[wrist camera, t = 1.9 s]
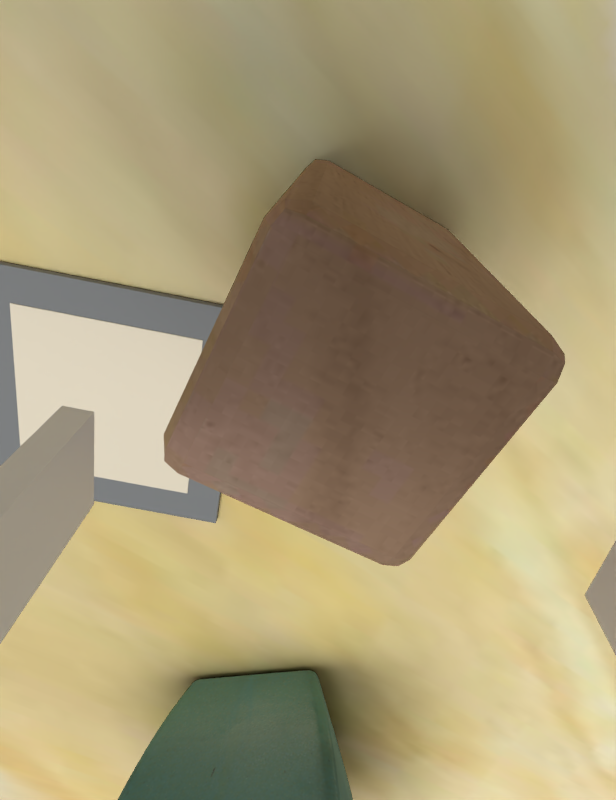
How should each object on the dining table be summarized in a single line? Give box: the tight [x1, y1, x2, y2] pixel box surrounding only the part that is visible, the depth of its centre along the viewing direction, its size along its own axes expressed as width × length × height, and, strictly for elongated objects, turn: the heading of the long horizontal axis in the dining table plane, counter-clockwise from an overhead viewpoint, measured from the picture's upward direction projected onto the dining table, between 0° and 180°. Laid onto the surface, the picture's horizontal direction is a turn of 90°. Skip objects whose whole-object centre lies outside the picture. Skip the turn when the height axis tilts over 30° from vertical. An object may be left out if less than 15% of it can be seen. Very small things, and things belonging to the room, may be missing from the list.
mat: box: [0, 261, 223, 523], centre depth 40 cm, size 18×18×1 cm
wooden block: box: [164, 159, 565, 566], centre depth 26 cm, size 10×10×20 cm
